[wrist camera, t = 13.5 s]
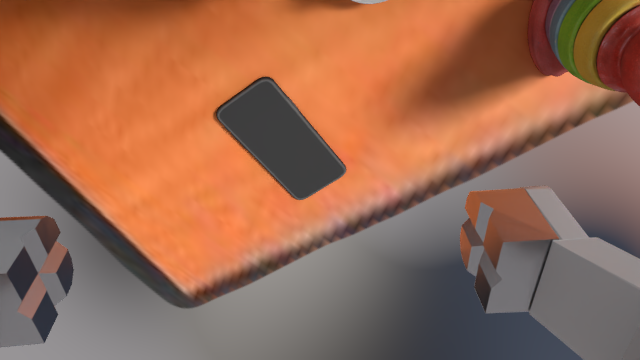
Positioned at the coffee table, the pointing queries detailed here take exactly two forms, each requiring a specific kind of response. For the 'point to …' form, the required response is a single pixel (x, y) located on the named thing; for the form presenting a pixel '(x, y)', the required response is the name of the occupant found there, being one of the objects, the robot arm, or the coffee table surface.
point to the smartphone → (281, 138)
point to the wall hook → (369, 1)
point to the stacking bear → (588, 41)
